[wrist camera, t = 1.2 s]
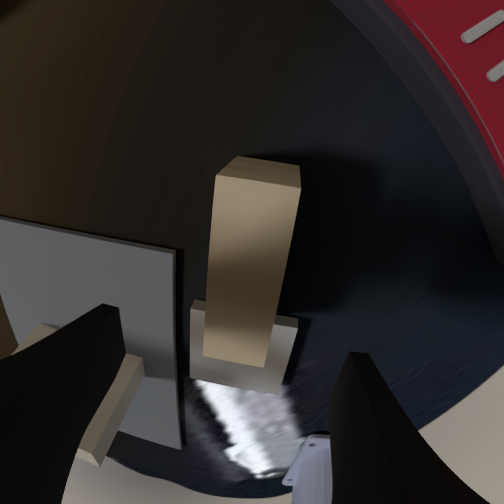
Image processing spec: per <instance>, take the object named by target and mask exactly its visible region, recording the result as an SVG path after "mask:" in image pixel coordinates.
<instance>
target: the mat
mask: <svg viewBox="0 0 504 504" xmlns="http://www.w3.org/2000/svg"><path fill="white" fill-rule="evenodd" d="M175 266H176V250H172V249H167V248H161V247H156V246H151V245H145V244H140V243H135V242H129V241H124V240H119V239H113V238H108V237H103V236H98V235H93V234H87V233H82V232H77V231H72V230H67V229H62V228H57V227H51V226H46V225H41V224H36V223H31V222H26V221H21V220H16V219H11V218H6V217H1V216H0V294H1V297H2V300H3V303H4V306H5V309H6V312H7V315H8V318H9V321H10V324H11V326H12V329H13V332H14V334H15V337H16V339H17V342H18V344H19V345H20V344H21V343H22V342H23V341H24V340H25V339H26V338H27V337H28V335H29V334H30V333H31V332H32V331H33V330H34V329H35V328H36V327H37V326H38V325H39V324H40V323H42V324H45V325H47V326H50V327H52V328H55V329H58V330H59V329H60V328H62V327H64V326H65V325H67V324H69V323H70V322H72V321H74V320H75V319H77V318H78V317H80V316H82V315H83V314H85V313H87V312H88V311H90V310H92V309H93V308H95V307H97V306H99V305H101V304H102V303H104V304H108V305H112V306H115V307H119V311H120V318H121V325H122V331H123V338H124V344H125V349H126V353H128V354H131V355H135V356H138V357H142V358H143V366H144V372H145V376H144V378H143V380H142V382H141V384H140V386H139V388H138V390H137V392H136V394H135V396H134V398H133V400H132V402H131V404H130V406H129V408H128V410H127V412H126V414H125V416H124V418H123V420H122V422H121V424H120V426H119V428H118V430H119V431H122V432H125V433H128V434H131V435H134V436H137V437H140V438H143V439H146V440H149V441H152V442H156V443H159V444H162V445H166V446H169V447H173V448H177V449H180V450H181V448H182V440H181V428H180V415H179V399H178V382H177V359H176V321H175Z"/></svg>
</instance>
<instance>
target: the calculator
mask: <svg viewBox="0 0 504 504" xmlns="http://www.w3.org/2000/svg"><path fill="white" fill-rule="evenodd" d="M330 1H331V2H332V3H333V4H334V5H335V6H336V7H337V8H338V9H339V10H340V11H341V12H342V13H343V14H344V15H345V16H346V17H347V18H348V19H349V20H350V21H351V22H352V23H353V24H354V25H355V26H356V27H357V28H358V29H359V31H360V32H361V33H362V34H363V35H364V36H365V37H366V38H367V39H368V41H369V42H370V43H371V44H372V45H373V46H374V48H375V49H376V50H377V51H378V52H379V53H380V55H381V56H382V57H383V58H384V60H385V61H386V62H387V63H388V65H389V66H390V67H391V68H392V70H393V71H394V72H395V73H396V75H397V76H398V77H399V79H400V80H401V81H402V83H403V84H404V85H405V87H406V88H407V89H408V91H409V92H410V93H411V95H412V96H413V98H414V99H415V100H416V102H417V103H418V105H419V106H420V107H421V109H422V110H423V112H424V113H425V115H426V116H427V118H428V119H429V121H430V122H431V124H432V125H433V127H434V128H435V130H436V132H437V133H438V135H439V136H440V138H441V140H442V141H443V143H444V145H445V146H446V148H447V150H448V151H449V153H450V155H451V157H452V158H453V160H454V162H455V164H456V165H457V167H458V169H459V171H460V173H461V175H462V176H463V178H464V180H465V182H466V184H467V186H468V188H469V190H470V193H471V198H472V201H473V203H474V205H475V207H476V210H477V212H478V214H479V216H480V219H481V221H482V223H483V226H484V228H485V231H486V233H487V236H488V238H489V241H490V243H491V246H492V249H493V251H494V254H495V257H496V259H497V260H498V261H499V262H500V263H501V264H502V265H503V266H504V0H330Z"/></svg>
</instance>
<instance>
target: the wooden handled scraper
mask: <svg viewBox="0 0 504 504" xmlns="http://www.w3.org/2000/svg"><path fill="white" fill-rule="evenodd" d="M300 192H301V181H300V168H299V166H297V165H291V164H286V163H280V162H274V161H267V160H261V159H254V158H247V157H240V156H237V157H236V158H235V159H234V160H233V161H231V162H230V163H229V164H228V165H227V166H226V167H224V168H223V169H222V170H221V171H220V172H219V173H218V174H217V175H216V181H215V191H214V201H213V212H212V224H211V236H210V248H209V261H208V275H207V290H206V302H205V301H200V300H195V301H194V303H193V305H192V307H191V316H190V378H193V379H198V380H202V381H207V382H211V383H216V384H221V385H226V386H231V387H236V388H241V389H247V390H252V391H258V392H264V393H270V394H277V395H278V393H279V390H280V387H281V384H282V380H283V377H284V374H285V371H286V367H287V364H288V361H289V357H290V354H291V351H292V347H293V344H294V340H295V337H296V333H297V330H298V318H293V317H286V316H281V315H276V311H277V306H278V302H279V297H280V292H281V288H282V283H283V278H284V273H285V268H286V264H287V259H288V254H289V249H290V244H291V239H292V234H293V229H294V223H295V218H296V213H297V208H298V202H299V197H300Z"/></svg>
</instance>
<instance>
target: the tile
mask: <svg viewBox="0 0 504 504" xmlns="http://www.w3.org/2000/svg"><path fill="white" fill-rule="evenodd" d="M57 330H58V329H55V328H52V327H50V326H47V325H45V324H42V323H40V324H39V325H38V326H37V327H36V328H35V329H34V330H33V331H32V332H31V333H30V334H29V335H28V337H27V338H26V339H25V340H24V341H23V342H22V343H21V344H20V345H19V347H18V348H17V349H16V350H15V351H14V352H13V353H12V355H13V354H15V353H17V352H19V351H21V350H23V349H25V348H27V347H29V346H31V345H32V344H34V343H36V342H38V341H40V340H41V339H43V338H45V337H47V336H49V335H50V334H52V333H54V332H55V331H57ZM144 376H145V372H144V366H143V358H142V357H138V356H135V355H131V354H128V353H126V355H125V357H124V359H123V362H122V364H121V367H120V369H119V371H118V374H117V376H116V378H115V380H114V382H113V384H112V385H111V387H110V389H109V391H108V392H107V394H106V396H105V398H104V399H103V401H102V403H101V404H100V406H99V408H98V410H97V411H96V413H95V415H94V417H93V418H92V420H91V422H90V424H89V425H88V427H87V429H86V431H85V433H84V435H83V437H82V440H81V442H80V445H79V447H78V450H77V453H76V455H75V456H76V457H78V458H80V459H82V460H85V461H87V462H89V463H91V464H94V465H96V466H98V467H100V466H101V464H102V462H103V460H104V458H105V456H106V453H107V451H108V449H109V447H110V445H111V443H112V441H113V439H114V437H115V435H116V433H117V430H118V428H119V426H120V424H121V422H122V420H123V418H124V416H125V414H126V412H127V410H128V408H129V406H130V404H131V402H132V400H133V398H134V396H135V394H136V392H137V390H138V388H139V386H140V384H141V382H142V380H143V378H144Z"/></svg>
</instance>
